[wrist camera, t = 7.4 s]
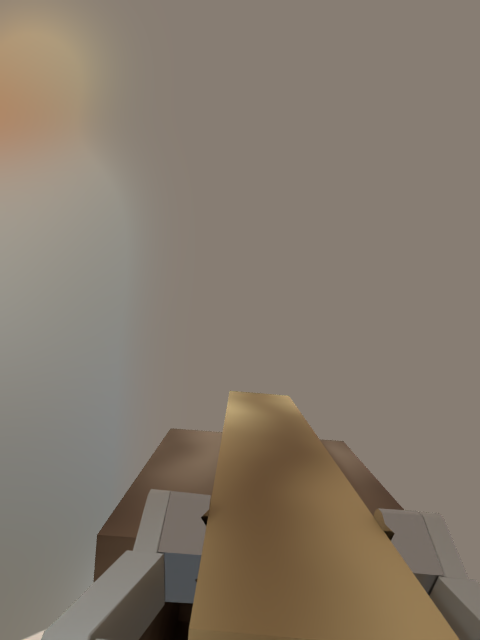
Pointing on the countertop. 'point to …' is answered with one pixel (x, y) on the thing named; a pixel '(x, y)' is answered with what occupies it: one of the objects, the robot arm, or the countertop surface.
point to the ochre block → (297, 543)
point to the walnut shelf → (198, 477)
